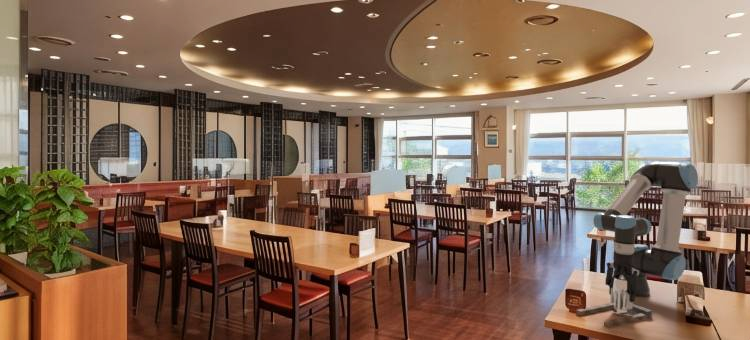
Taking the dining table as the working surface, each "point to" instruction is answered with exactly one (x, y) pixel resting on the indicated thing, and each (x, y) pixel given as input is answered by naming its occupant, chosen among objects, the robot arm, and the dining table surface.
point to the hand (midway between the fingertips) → (621, 305)
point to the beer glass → (620, 295)
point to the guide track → (637, 310)
